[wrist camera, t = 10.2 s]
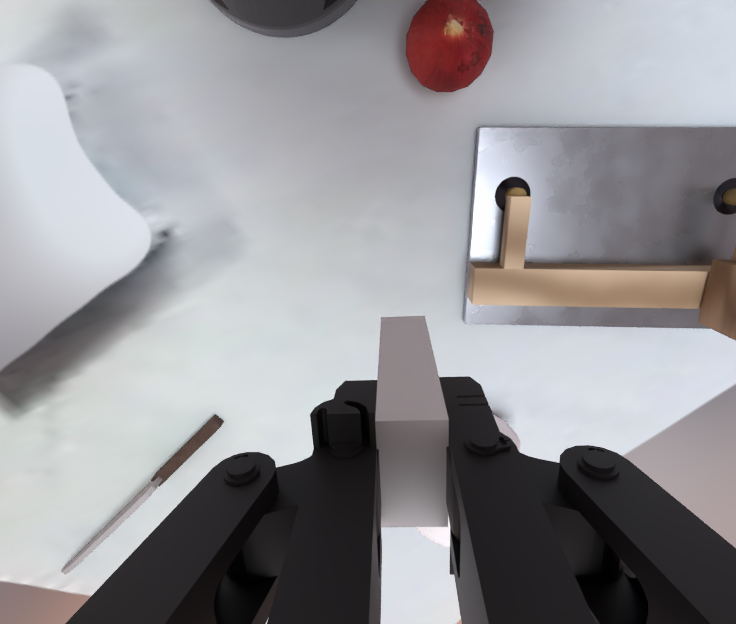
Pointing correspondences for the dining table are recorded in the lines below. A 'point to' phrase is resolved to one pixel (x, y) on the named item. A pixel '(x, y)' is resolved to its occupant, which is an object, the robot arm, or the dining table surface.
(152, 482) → the kitchen knife
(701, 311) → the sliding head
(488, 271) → the beam
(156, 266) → the dining table surface
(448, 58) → the onion
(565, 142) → the bolt plate
